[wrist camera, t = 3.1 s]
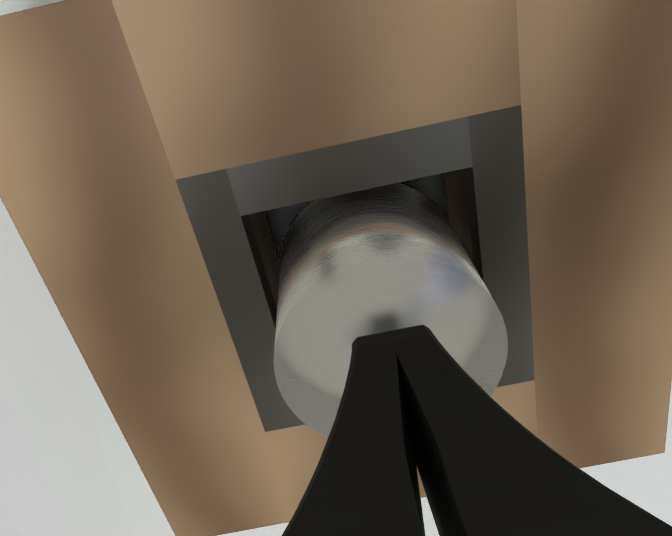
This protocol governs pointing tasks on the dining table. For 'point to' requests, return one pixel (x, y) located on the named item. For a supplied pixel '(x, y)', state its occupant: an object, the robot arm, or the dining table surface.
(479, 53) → the band block
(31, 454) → the dining table surface
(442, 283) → the grey short rounded cylinder
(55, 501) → the dining table surface
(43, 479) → the dining table surface
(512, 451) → the robot arm
